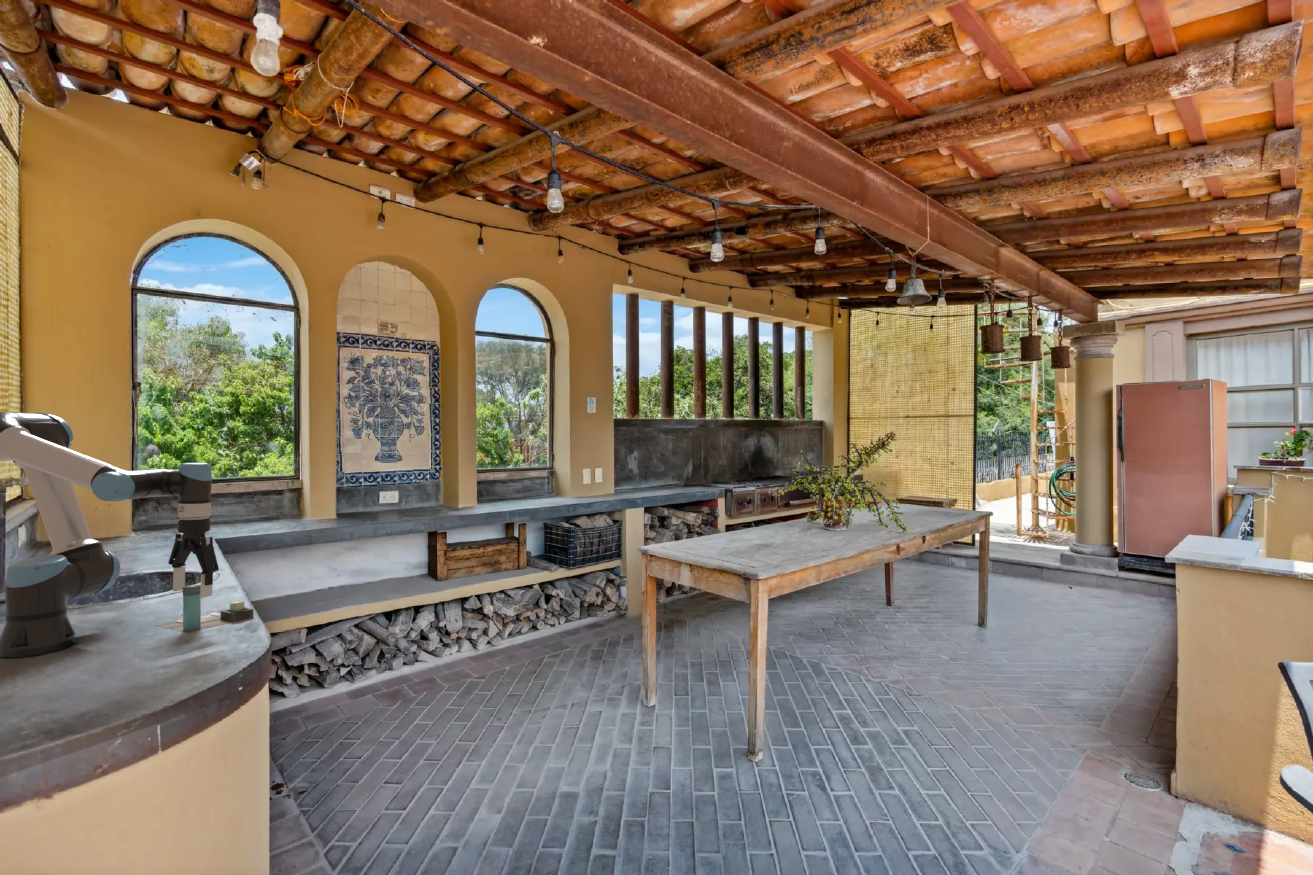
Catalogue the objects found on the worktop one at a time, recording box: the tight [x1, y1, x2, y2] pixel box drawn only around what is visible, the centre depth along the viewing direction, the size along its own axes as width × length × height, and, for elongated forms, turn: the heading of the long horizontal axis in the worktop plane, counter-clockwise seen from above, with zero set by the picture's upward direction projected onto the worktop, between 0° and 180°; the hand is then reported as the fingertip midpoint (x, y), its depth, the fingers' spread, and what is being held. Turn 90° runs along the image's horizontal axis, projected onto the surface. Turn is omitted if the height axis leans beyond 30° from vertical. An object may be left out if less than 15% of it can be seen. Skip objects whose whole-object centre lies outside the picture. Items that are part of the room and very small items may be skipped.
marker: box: [182, 584, 202, 632], centre depth 182 cm, size 4×4×12 cm
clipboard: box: [155, 606, 254, 634], centre depth 191 cm, size 16×18×4 cm
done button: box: [229, 600, 245, 613], centre depth 194 cm, size 4×4×3 cm
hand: (192, 593), depth 183 cm, fingers open, 13 cm apart
